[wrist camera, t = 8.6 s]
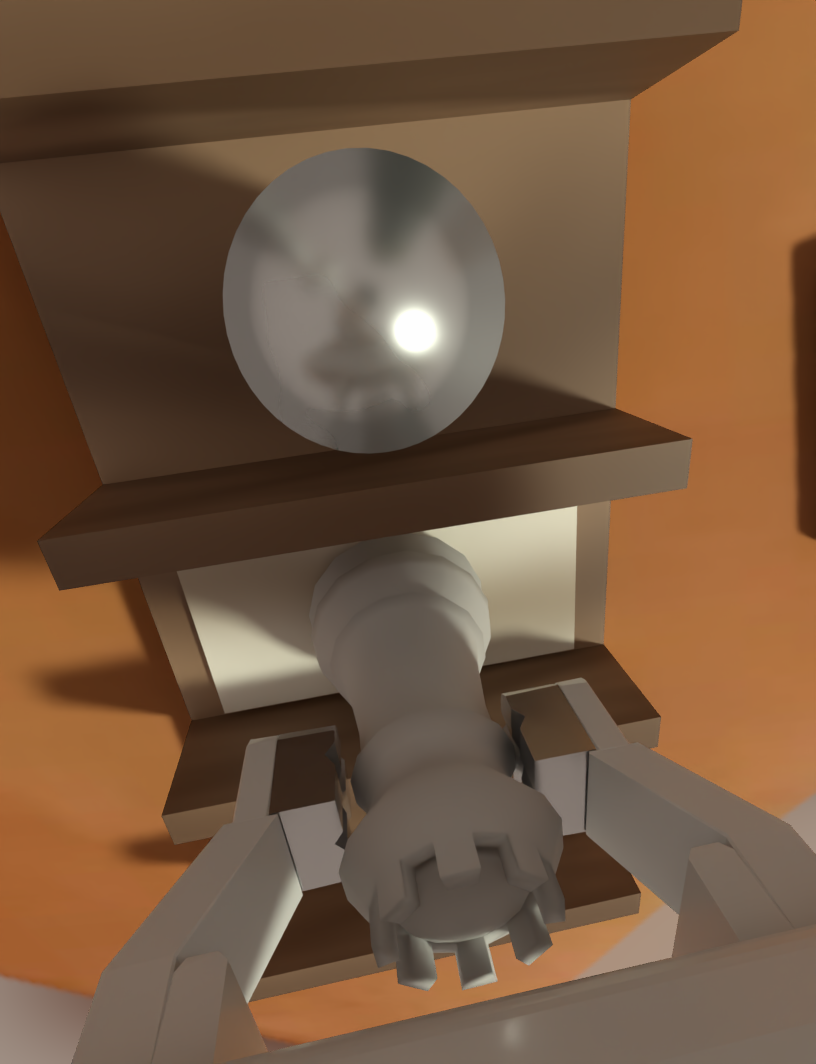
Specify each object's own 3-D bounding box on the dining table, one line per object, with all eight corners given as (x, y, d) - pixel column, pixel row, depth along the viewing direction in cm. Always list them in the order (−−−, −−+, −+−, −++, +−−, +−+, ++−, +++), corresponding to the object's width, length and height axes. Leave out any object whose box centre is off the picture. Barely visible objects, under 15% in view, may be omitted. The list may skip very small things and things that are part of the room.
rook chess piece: (306, 525, 13) (280, 827, 6) (487, 522, 13) (677, 790, 6) (311, 675, 15) (297, 1053, 7) (470, 667, 15) (602, 1006, 8)
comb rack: (-10, 113, 10) (-205, 8, 6) (608, 54, 11) (749, -66, 7) (261, 868, 19) (246, 1002, 16) (582, 801, 20) (638, 912, 16)
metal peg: (259, 232, 10) (186, 164, 5) (411, 214, 11) (499, 132, 5) (291, 388, 12) (260, 470, 6) (425, 369, 12) (509, 433, 6)
